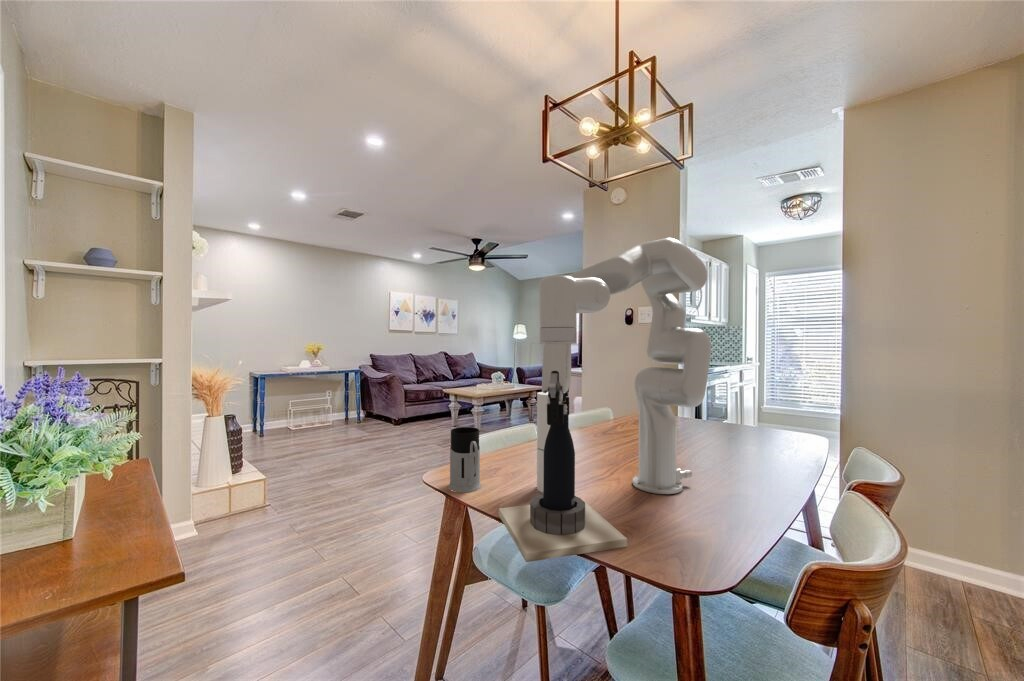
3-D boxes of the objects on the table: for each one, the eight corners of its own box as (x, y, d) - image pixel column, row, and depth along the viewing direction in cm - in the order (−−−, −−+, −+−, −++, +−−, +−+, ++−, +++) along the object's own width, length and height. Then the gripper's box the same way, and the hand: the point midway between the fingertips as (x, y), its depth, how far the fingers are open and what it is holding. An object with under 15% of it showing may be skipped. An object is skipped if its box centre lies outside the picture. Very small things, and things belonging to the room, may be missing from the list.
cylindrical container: (563, 494, 103) (563, 395, 103) (535, 492, 104) (535, 394, 104) (565, 484, 110) (565, 391, 110) (539, 483, 111) (539, 391, 111)
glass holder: (475, 479, 114) (475, 425, 114) (493, 497, 101) (493, 436, 101) (444, 483, 111) (444, 428, 111) (459, 502, 98) (459, 440, 98)
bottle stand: (581, 505, 96) (581, 481, 96) (627, 546, 77) (627, 517, 77) (498, 515, 91) (498, 490, 91) (526, 562, 72) (526, 530, 72)
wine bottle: (540, 516, 87) (541, 374, 87) (570, 515, 88) (571, 374, 88) (546, 529, 81) (547, 377, 81) (578, 528, 81) (578, 377, 81)
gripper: (546, 336, 93) (547, 411, 94) (531, 337, 77) (532, 428, 77) (580, 336, 91) (580, 412, 92) (572, 336, 75) (572, 430, 75)
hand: (558, 419), depth 84 cm, fingers open, 9 cm apart
